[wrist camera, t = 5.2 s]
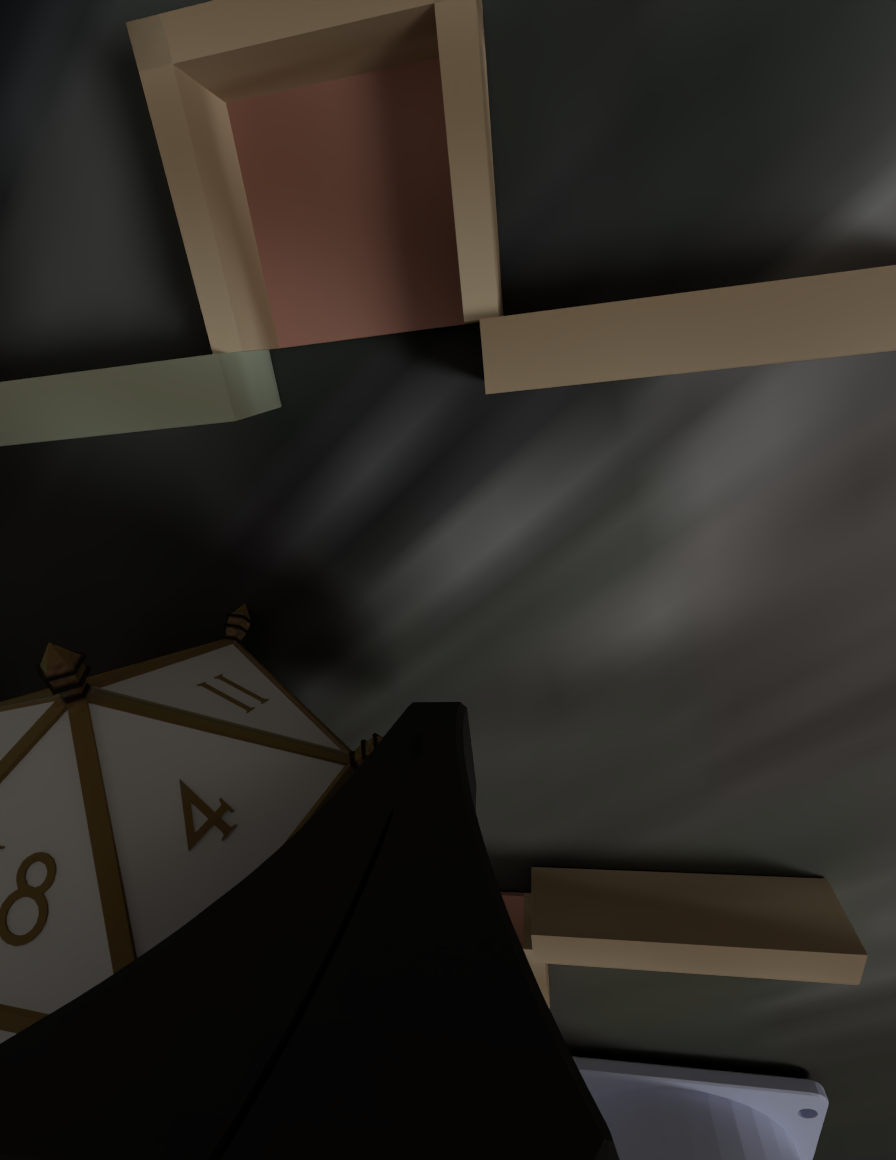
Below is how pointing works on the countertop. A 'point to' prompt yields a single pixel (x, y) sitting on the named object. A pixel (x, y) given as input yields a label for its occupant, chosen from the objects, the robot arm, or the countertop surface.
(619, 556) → the countertop surface
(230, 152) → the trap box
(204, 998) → the robot arm
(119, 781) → the game die
